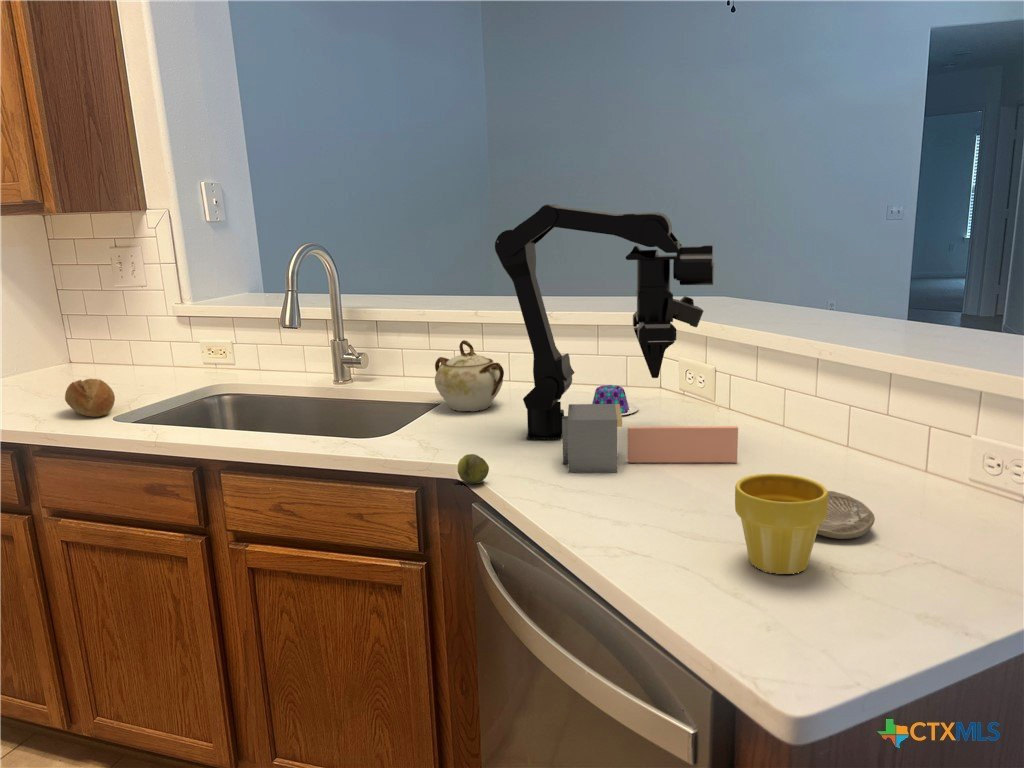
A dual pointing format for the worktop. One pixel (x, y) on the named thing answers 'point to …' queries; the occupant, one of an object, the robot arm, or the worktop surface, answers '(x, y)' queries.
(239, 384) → the worktop surface
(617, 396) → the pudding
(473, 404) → the sugar bowl
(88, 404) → the bread roll
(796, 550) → the plant pot
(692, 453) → the salmon pink plank
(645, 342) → the robot arm
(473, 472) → the lime
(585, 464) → the grey upright box
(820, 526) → the fossil
